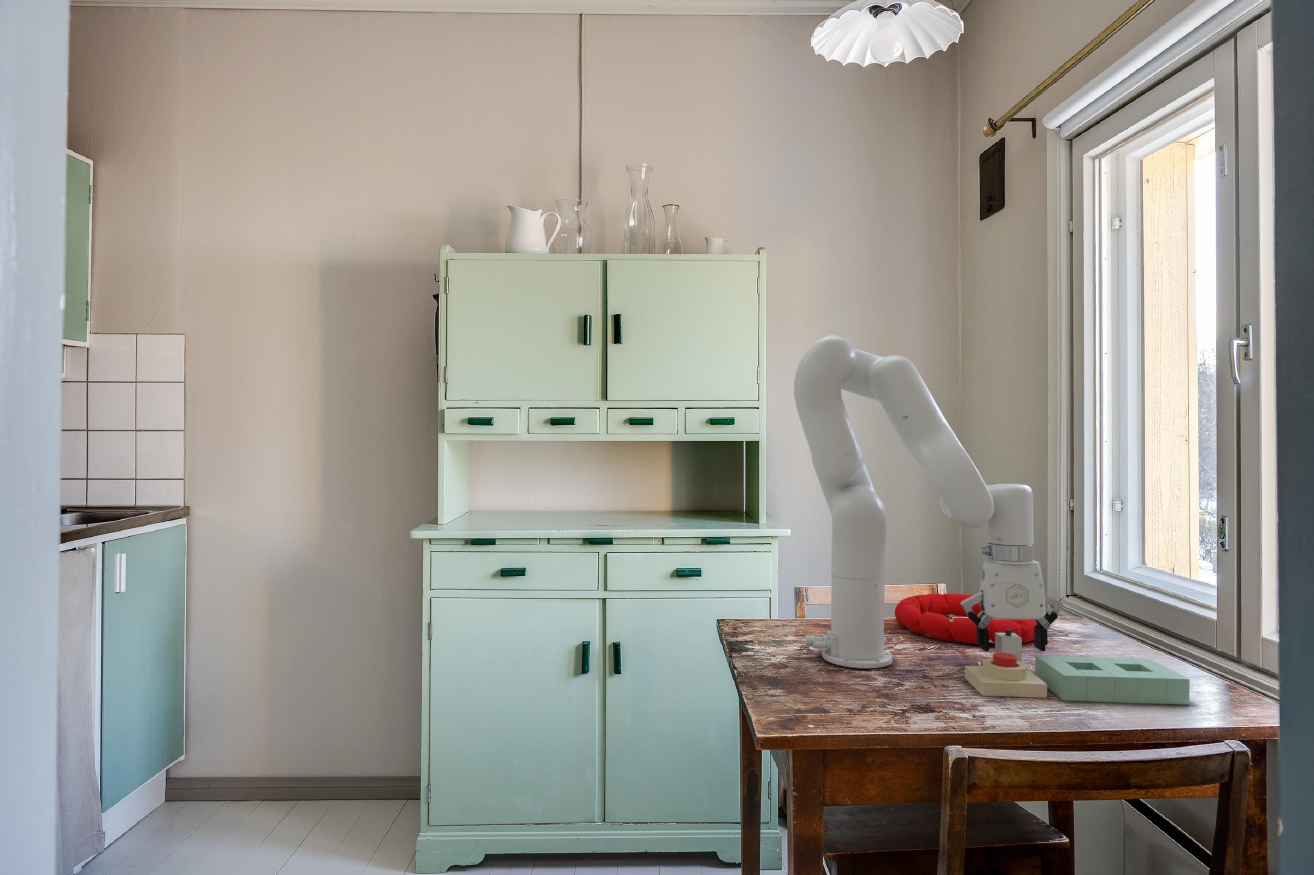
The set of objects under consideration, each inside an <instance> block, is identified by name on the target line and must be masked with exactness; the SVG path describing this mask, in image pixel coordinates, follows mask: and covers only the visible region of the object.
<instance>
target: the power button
mask: <svg viewBox="0 0 1314 875" xmlns="http://www.w3.org/2000/svg"><path fill="white" fill-rule="evenodd" d="M992 658H993V664H994V665H997V666H1001V667H1017V656H1015V655H1013V654H1009V653H995V652H994V653H993V654H992Z"/></svg>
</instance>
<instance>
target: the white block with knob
mask: <svg viewBox="0 0 1314 875" xmlns="http://www.w3.org/2000/svg"><path fill="white" fill-rule="evenodd" d="M1011 632H1012V630H1010V629H1005V633H995V643H994V653H1009V654H1013V655H1015V656H1017V661H1019V662H1022V659H1023V658H1022V657H1023V656H1022V654H1023V643H1022V638H1021V637H1019V636H1018V635H1016V634H1015V633H1011Z"/></svg>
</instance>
